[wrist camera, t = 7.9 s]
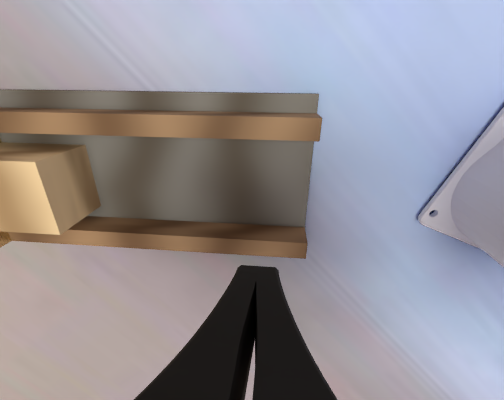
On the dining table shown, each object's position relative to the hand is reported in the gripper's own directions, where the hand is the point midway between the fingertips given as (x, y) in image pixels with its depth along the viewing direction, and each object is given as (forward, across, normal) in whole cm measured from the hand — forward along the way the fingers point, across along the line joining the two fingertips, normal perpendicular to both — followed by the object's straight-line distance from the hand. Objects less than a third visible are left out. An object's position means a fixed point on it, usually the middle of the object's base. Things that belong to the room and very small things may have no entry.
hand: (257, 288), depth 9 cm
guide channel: (+9, +8, -1) cm, 13 cm away
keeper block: (+9, +15, -1) cm, 18 cm away
